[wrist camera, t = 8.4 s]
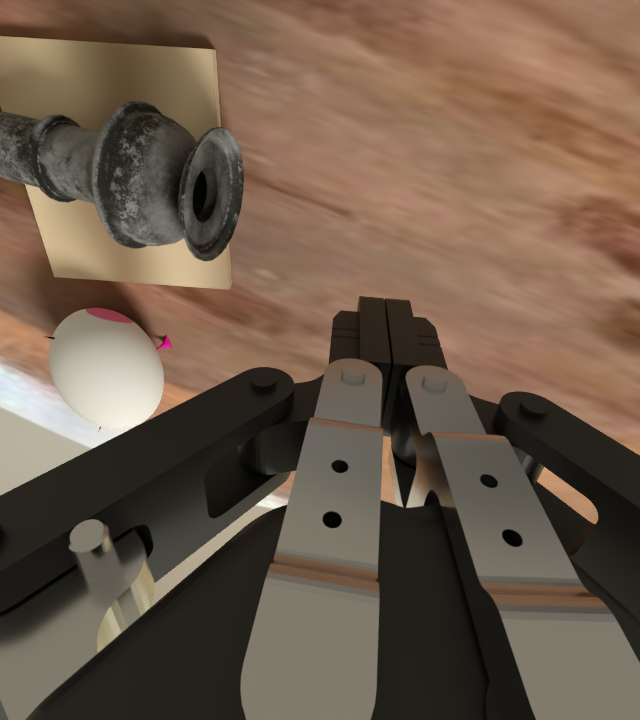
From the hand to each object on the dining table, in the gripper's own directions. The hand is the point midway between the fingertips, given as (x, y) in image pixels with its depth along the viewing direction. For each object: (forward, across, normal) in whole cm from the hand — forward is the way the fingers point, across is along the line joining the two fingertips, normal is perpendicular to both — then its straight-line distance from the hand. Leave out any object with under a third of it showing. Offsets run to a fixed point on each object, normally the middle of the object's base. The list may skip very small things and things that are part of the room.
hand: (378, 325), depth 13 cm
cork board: (+11, +12, -1) cm, 17 cm away
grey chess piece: (+6, +6, -2) cm, 9 cm away
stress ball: (+11, +15, +9) cm, 21 cm away
